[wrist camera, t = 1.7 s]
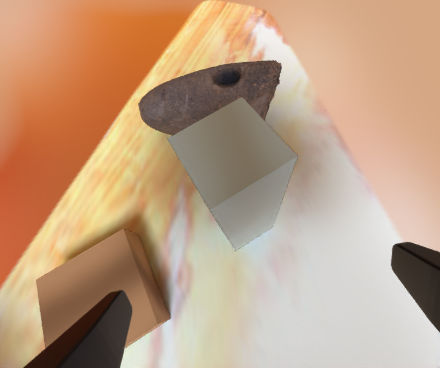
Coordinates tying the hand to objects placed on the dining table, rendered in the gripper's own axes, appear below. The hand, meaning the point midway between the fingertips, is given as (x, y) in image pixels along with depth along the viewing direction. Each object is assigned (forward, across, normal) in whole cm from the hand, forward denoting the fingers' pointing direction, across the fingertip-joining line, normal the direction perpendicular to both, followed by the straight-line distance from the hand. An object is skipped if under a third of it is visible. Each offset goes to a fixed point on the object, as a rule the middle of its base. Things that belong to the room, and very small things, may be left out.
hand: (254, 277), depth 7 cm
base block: (+9, +12, +8) cm, 17 cm away
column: (+12, 0, +5) cm, 13 cm away
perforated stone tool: (+20, +1, -3) cm, 21 cm away
